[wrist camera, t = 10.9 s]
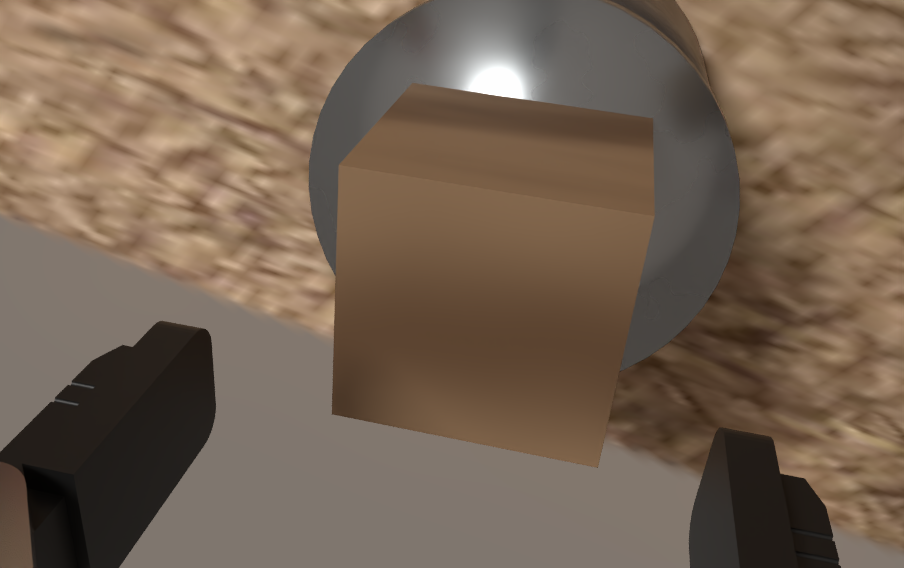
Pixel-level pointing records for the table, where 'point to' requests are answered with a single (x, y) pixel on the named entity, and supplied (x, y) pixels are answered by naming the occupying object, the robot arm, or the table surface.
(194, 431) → the robot arm
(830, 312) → the table surface
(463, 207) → the walnut block
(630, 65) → the metal tin
